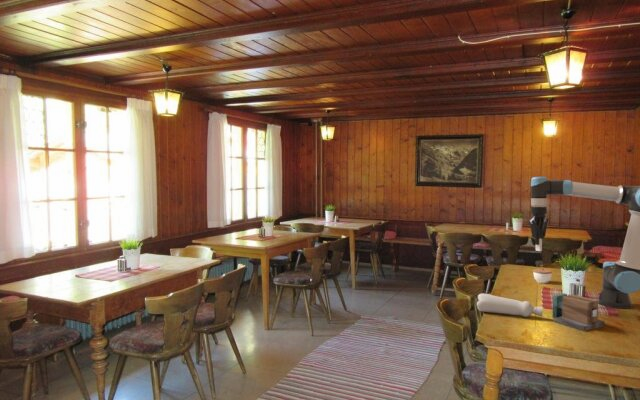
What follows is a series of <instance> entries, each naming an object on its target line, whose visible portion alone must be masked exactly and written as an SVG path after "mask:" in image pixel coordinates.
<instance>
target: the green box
mask: <svg viewBox="0 0 640 400" xmlns="http://www.w3.org/2000/svg"><path fill="white" fill-rule="evenodd" d="M552 296H553V297H552V315H551V316H552V318H553V319H555V318H558V317H562V308H563V297H564V296H568V294H567V293H557V294H553V295H552ZM590 316H591V317H595V316H597V309H590Z"/></svg>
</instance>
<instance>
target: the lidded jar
mask: <svg viewBox="0 0 640 400" xmlns="http://www.w3.org/2000/svg"><path fill="white" fill-rule="evenodd" d="M532 271H533V272H532V273H533V274H532V275H533V278H534V280H535V282H537V283H539V284H547V283H549V282H550V281H551V278H552V272H553V271H552V270H550V269H546V268H544V267H541V268H534V269H533V270H532Z"/></svg>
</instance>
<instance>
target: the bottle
mask: <svg viewBox="0 0 640 400" xmlns="http://www.w3.org/2000/svg"><path fill="white" fill-rule="evenodd" d="M477 300H478V301H477V302H476V307H477V310H478V311H480V312H483V313H490V314H501V315H511V316H522V317H523V318H530V317H531V316H532V314H533V315H534V316H538V317H543V315H544V314H543V313H544V311H543V310H544V307H543V306H534V307H533V306H532V303H531V302H529V301H528V300H524V301H520V300H518V299H512V298H507V297H502V296H497V295H493V294H490V293H484V292H482V293H479V294H478V295H477Z"/></svg>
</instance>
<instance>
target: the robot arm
mask: <svg viewBox="0 0 640 400" xmlns="http://www.w3.org/2000/svg"><path fill="white" fill-rule="evenodd" d="M530 179H531V181H530V205H531V206H530V213H531V215H532V216H531V219H528V222H529V225H530V226H529V227H530V231H531V232H530V233H531V237H532V238H533V239H534V240H535V241H534V243H535V251H537V252H542V251H543V239H545V237H546V234H547V228H548V222H549V218H546V214H547V212H548V210H547V209H548V208H547V206H548V203H547V202H548V199H547V198H548V195H549V196H551V195H554V196H555V195H556V196H558V195H559V196H572V197H577V198H589V199H594V200H603V201H604V200H605V201H611V202H615V203H616V204H618V205H619V204H620V205H621V204H622V205H625V206H629V208H628V211H629V214H630V219H629V222H628V227H627V230H626V235H625V238H624V242H623V247H622V250H621V254H620V257H619V260H617V261H604V262H603V264H602V265H603V266H602V289H601V292H600V293H599V295H598V298H597V300H598V305H601V306H605V307H608V308H615V309H630V308H632V300H631V296H630V294H635V293H637V292H638V291H640V185H618V186H612V185H611V186H610V185H604V184H603V185H602V184H593V183H585V182H578V181H572V180H570V179H567V180H566V179H562V180H561V179H550V180H549V179H547V177H546V176H533V177H532V178H530Z"/></svg>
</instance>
